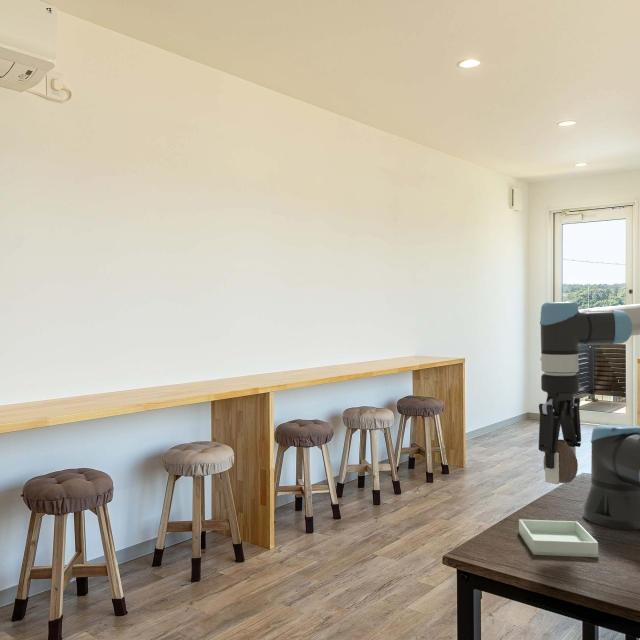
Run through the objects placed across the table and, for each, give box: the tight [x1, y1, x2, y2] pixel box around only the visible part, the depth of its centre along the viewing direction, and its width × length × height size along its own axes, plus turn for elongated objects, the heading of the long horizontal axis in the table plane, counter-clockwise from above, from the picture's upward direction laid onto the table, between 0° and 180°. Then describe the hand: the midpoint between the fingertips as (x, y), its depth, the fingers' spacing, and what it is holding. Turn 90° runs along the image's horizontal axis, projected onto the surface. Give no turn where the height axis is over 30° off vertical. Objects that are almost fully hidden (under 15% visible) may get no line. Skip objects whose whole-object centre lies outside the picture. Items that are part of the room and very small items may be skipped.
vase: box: [543, 438, 579, 484], centre depth 133 cm, size 7×7×9 cm
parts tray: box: [518, 519, 599, 558], centre depth 134 cm, size 13×13×3 cm
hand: (560, 479), depth 133 cm, fingers closed on vase, 7 cm apart
